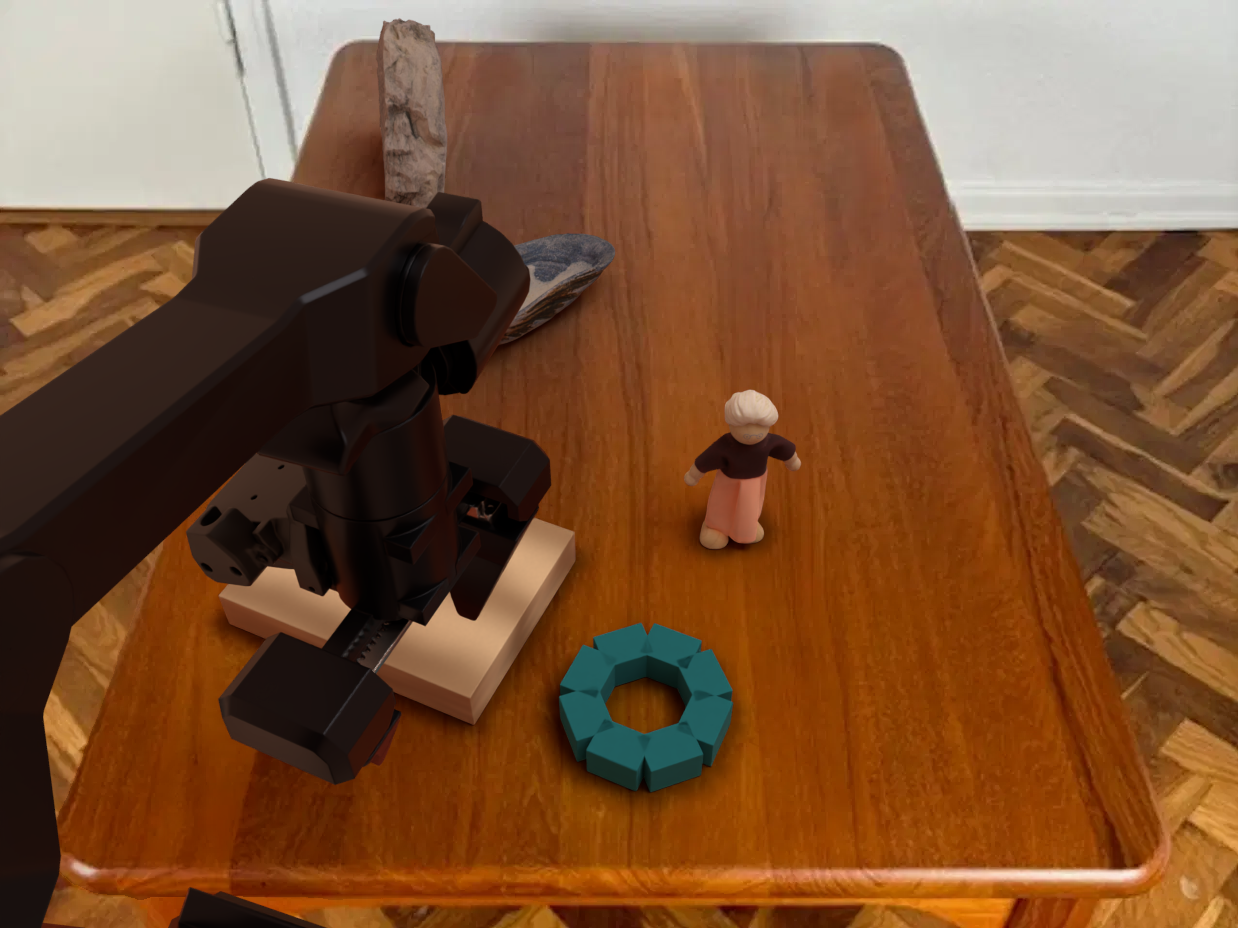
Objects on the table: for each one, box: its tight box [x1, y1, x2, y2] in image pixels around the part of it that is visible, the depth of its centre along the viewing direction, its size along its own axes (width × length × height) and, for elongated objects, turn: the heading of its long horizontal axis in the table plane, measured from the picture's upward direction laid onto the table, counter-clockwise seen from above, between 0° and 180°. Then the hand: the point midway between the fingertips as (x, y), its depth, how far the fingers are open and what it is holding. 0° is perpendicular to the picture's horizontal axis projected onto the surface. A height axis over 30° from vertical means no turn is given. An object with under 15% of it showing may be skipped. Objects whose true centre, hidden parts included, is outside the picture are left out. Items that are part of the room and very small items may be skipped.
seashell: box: [498, 232, 616, 346], centre depth 96 cm, size 15×12×5 cm
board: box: [218, 517, 577, 726], centre depth 77 cm, size 14×18×3 cm
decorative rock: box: [375, 17, 448, 208], centre depth 107 cm, size 16×7×15 cm, turn 8°
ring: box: [558, 622, 734, 793], centre depth 71 cm, size 10×10×2 cm
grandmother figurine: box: [683, 389, 802, 550], centre depth 78 cm, size 8×4×13 cm, turn 111°
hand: (422, 684), depth 59 cm, fingers open, 9 cm apart
